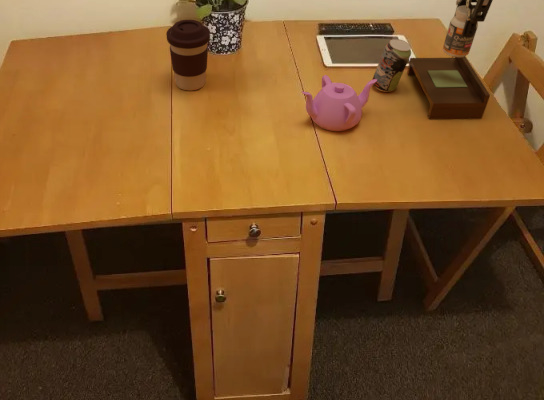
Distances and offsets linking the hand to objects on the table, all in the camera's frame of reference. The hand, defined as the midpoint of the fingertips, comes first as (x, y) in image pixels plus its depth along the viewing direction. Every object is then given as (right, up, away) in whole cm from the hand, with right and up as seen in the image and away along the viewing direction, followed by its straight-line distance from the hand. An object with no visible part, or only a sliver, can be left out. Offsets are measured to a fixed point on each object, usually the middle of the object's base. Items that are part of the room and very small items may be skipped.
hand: (462, 29), depth 127 cm
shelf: (0, -12, +12) cm, 17 cm away
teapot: (-27, -19, +4) cm, 33 cm away
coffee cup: (-60, -9, +15) cm, 63 cm away
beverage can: (-13, -10, +14) cm, 21 cm away
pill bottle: (0, -4, +4) cm, 6 cm away
